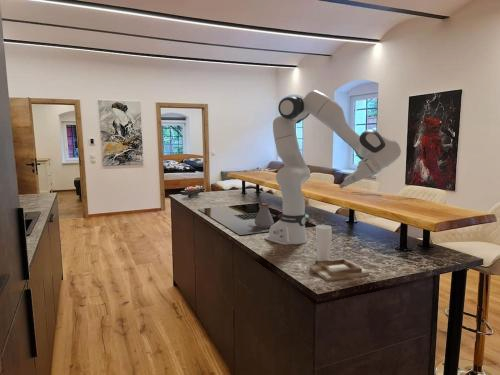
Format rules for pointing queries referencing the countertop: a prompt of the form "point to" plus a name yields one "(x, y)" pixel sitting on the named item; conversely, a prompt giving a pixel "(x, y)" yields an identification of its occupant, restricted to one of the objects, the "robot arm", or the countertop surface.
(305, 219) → the donut
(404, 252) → the countertop surface
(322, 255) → the drinking glass
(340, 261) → the holder board
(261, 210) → the coffee pot
